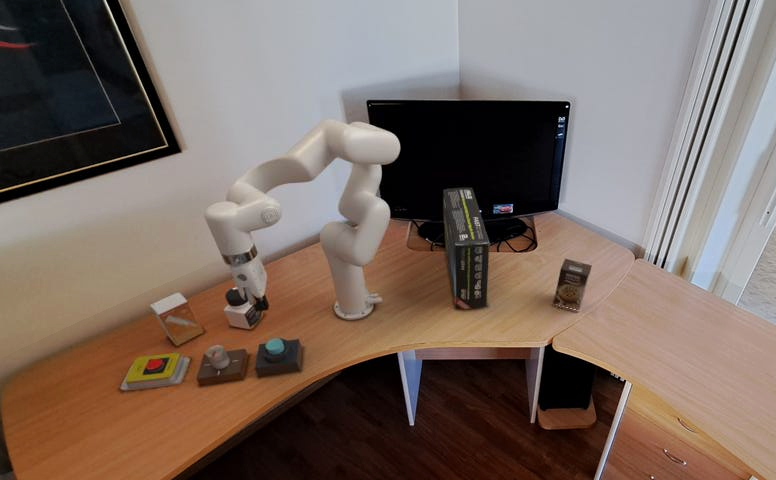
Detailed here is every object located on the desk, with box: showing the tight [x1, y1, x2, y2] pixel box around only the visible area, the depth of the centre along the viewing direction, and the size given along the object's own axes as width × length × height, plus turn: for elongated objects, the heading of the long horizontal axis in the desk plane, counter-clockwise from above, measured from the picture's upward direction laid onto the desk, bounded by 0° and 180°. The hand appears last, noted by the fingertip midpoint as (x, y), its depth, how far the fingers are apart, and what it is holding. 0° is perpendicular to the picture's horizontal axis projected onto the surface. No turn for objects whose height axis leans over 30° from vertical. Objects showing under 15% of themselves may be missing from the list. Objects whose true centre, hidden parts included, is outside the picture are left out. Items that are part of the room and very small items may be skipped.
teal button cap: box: [266, 338, 284, 355], centre depth 124 cm, size 4×4×2 cm
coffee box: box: [552, 258, 593, 313], centre depth 146 cm, size 9×6×16 cm
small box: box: [149, 291, 204, 347], centre depth 131 cm, size 8×6×13 cm
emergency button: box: [119, 352, 191, 392], centre depth 122 cm, size 9×4×15 cm
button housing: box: [254, 338, 303, 378], centre depth 126 cm, size 11×9×6 cm
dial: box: [205, 344, 230, 369], centre depth 122 cm, size 4×4×5 cm
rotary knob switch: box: [195, 348, 249, 386], centre depth 124 cm, size 11×9×3 cm
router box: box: [442, 187, 491, 310], centre depth 152 cm, size 36×11×27 cm, turn 10°
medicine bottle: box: [223, 286, 265, 330], centre depth 137 cm, size 7×7×12 cm
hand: (262, 308), depth 118 cm, fingers closed
